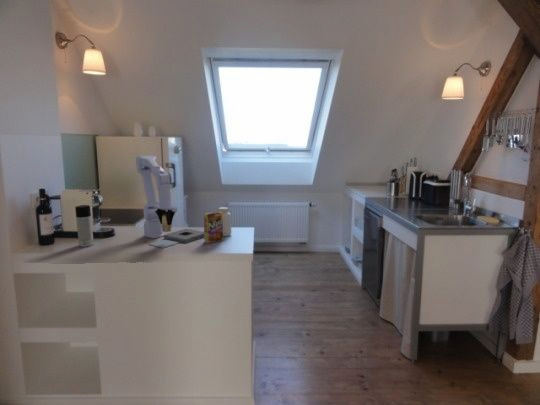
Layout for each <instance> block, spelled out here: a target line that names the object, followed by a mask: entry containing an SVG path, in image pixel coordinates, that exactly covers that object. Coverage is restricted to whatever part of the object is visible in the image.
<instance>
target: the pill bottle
mask: <svg viewBox="0 0 540 405" xmlns="http://www.w3.org/2000/svg"><path fill="white" fill-rule="evenodd" d="M218 211H220V212H222V214H223V237H229V236H231V235H232V215H231V212H229V207H226V206H221V207H218Z"/></svg>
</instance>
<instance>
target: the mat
mask: <svg viewBox="0 0 540 405" xmlns="http://www.w3.org/2000/svg"><path fill="white" fill-rule="evenodd" d="M177 244H180V242H178V241H173V240H168V239H163V240H159V241H156V242H153V243H149V246H152V247H156V248H161V249H165V247H166V248H168V247H171V246H174V245H177Z"/></svg>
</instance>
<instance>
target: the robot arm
mask: <svg viewBox="0 0 540 405" xmlns="http://www.w3.org/2000/svg"><path fill="white" fill-rule="evenodd" d="M135 165H136V170H137V172H138V174H140V175H141V178H142V184H143V187H144V191H145V198H146V204H145V205H144V206H143V208H142V210H143V218H144V223H143V235H142V236H143V237H145V238H150V239H158V238H161V237H164V235H166V234H167V233H166V234H165V233H163V230H162V215H164V214H165V215H166V218H167V225H171V226H172V223H173V219H174V216H175V214H176V212H178V207H177V206H173V205H172V200H171V199H172V198H171V184H172V175H171V174H170V172H166V171H165V170H164V169H163V167H161V165H158V159H157V156H156V155H155V154H152V155H137V156H136V157H135ZM152 176H153V177H154V178H155V183H156V189H157V193H158V201H157V196H156V193H155V188H154V183H153V178H152Z"/></svg>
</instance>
